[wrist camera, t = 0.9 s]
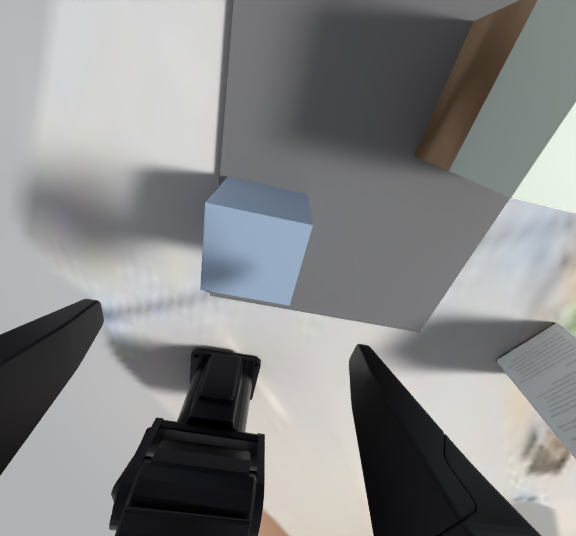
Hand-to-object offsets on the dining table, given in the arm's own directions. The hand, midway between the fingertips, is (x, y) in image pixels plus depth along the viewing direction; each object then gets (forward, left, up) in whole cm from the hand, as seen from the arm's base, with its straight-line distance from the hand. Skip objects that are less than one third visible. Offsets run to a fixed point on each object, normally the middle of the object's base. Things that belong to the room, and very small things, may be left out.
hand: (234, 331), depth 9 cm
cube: (0, 0, -10) cm, 10 cm away
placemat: (+5, -6, -10) cm, 13 cm away
